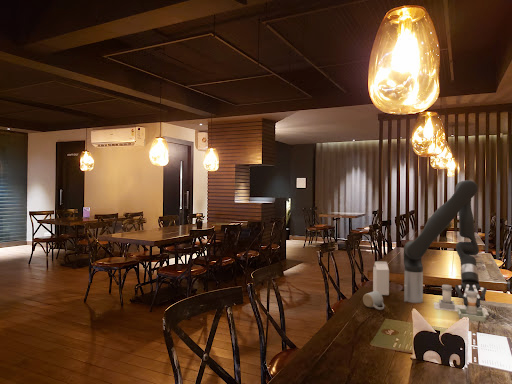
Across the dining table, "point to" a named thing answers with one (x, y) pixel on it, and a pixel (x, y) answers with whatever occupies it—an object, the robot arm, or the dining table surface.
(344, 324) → the dining table surface
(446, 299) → the fuse
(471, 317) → the parts tray
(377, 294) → the ceramic mug
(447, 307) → the fuse board
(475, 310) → the ball
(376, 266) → the milk carton
